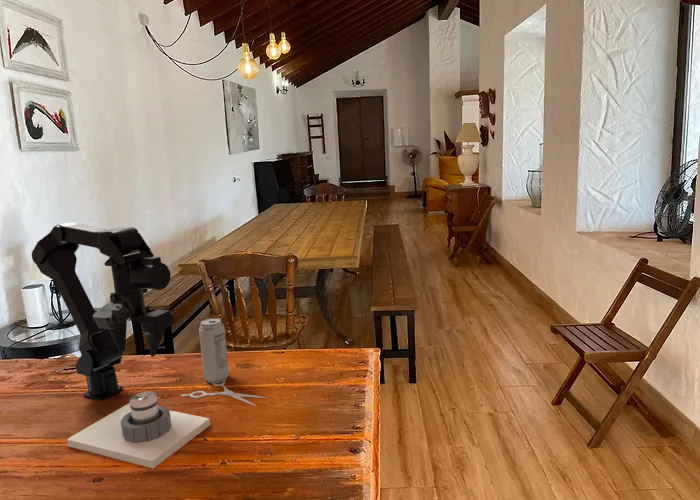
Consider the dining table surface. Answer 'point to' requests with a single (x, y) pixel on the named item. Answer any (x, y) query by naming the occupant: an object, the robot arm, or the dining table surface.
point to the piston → (144, 408)
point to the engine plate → (137, 451)
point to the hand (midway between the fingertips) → (137, 353)
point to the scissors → (226, 392)
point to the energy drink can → (213, 350)
